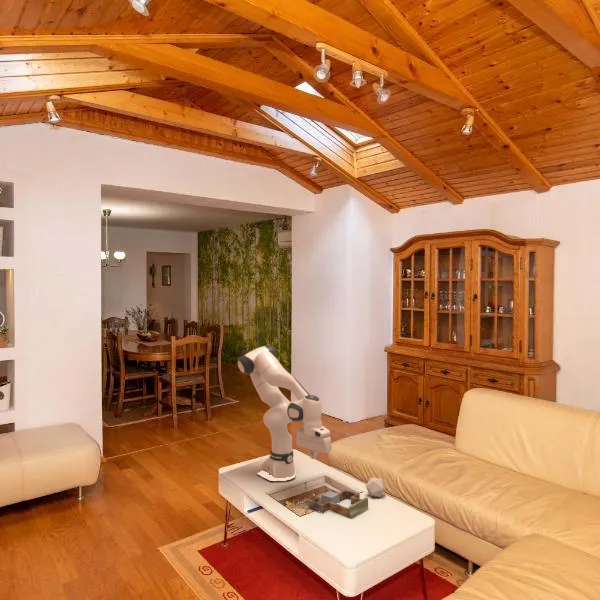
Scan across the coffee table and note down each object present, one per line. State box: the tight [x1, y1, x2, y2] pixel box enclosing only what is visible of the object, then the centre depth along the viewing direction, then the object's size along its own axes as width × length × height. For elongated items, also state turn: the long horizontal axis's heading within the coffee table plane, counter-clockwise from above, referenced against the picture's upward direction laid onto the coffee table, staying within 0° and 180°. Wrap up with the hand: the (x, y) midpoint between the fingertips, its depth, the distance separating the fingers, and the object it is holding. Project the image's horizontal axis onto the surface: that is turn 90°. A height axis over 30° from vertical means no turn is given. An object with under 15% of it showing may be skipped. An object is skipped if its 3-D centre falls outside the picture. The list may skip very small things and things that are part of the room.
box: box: [308, 487, 369, 519], centre depth 221 cm, size 24×21×5 cm
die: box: [365, 476, 387, 498], centre depth 232 cm, size 8×9×10 cm
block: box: [320, 491, 341, 504], centre depth 224 cm, size 6×6×4 cm
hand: (313, 458), depth 231 cm, fingers closed
